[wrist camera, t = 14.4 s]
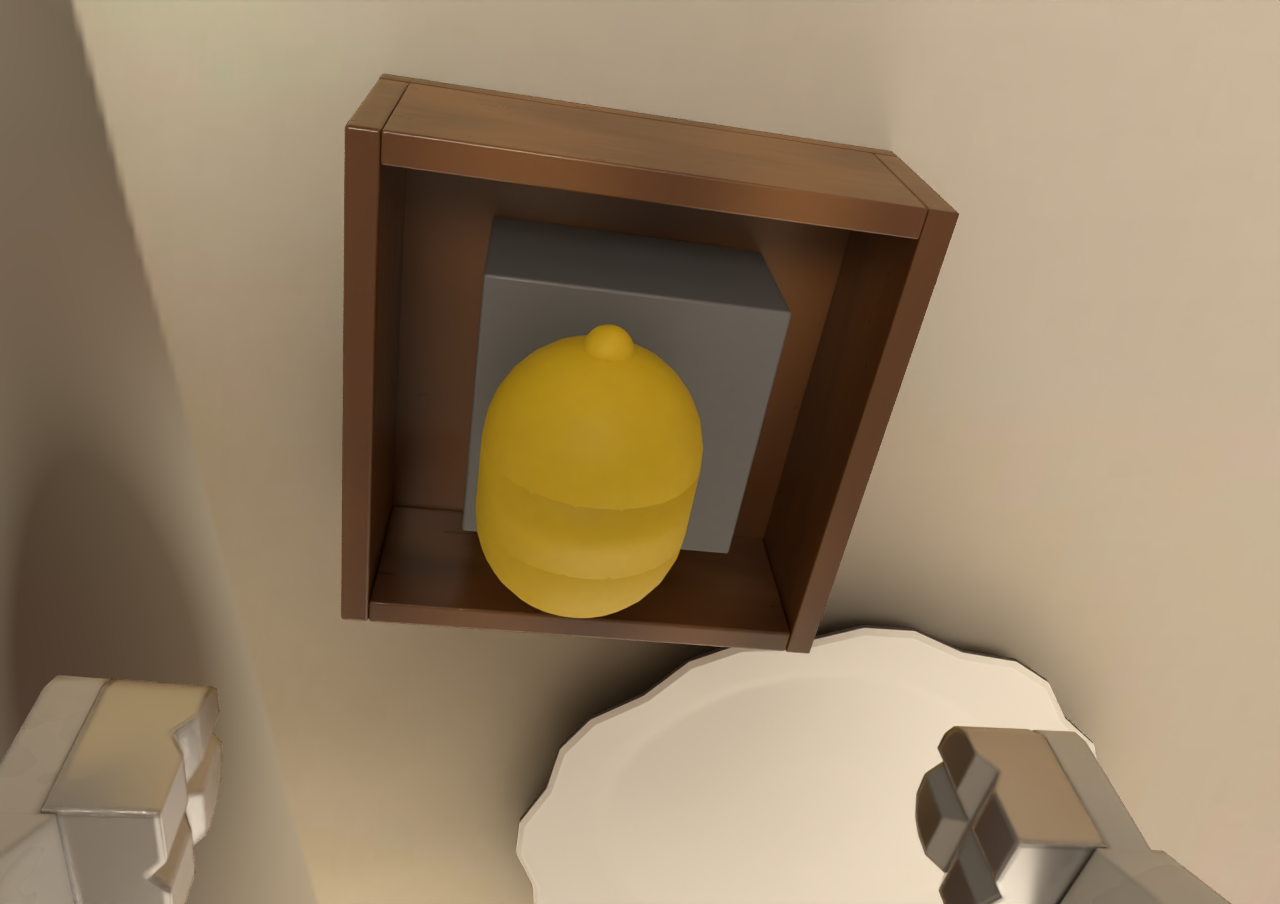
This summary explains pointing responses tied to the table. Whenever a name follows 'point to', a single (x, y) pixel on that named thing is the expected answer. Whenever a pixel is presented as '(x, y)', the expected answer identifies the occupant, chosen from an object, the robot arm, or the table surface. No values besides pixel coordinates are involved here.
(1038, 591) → the table surface
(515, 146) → the crate
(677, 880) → the plate
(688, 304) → the block
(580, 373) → the lemon
